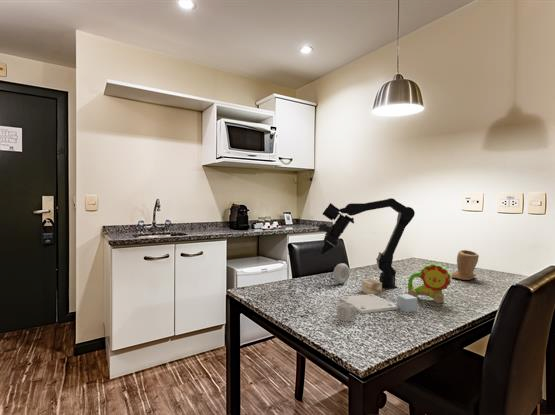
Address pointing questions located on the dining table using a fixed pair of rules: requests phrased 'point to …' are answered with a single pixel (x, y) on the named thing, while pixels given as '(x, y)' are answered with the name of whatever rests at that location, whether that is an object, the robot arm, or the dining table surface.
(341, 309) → the die
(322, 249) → the robot arm
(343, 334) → the dining table surface
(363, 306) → the building plate
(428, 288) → the toy lion
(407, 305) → the slate brick
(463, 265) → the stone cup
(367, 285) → the maple brick
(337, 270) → the donut
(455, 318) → the dining table surface
